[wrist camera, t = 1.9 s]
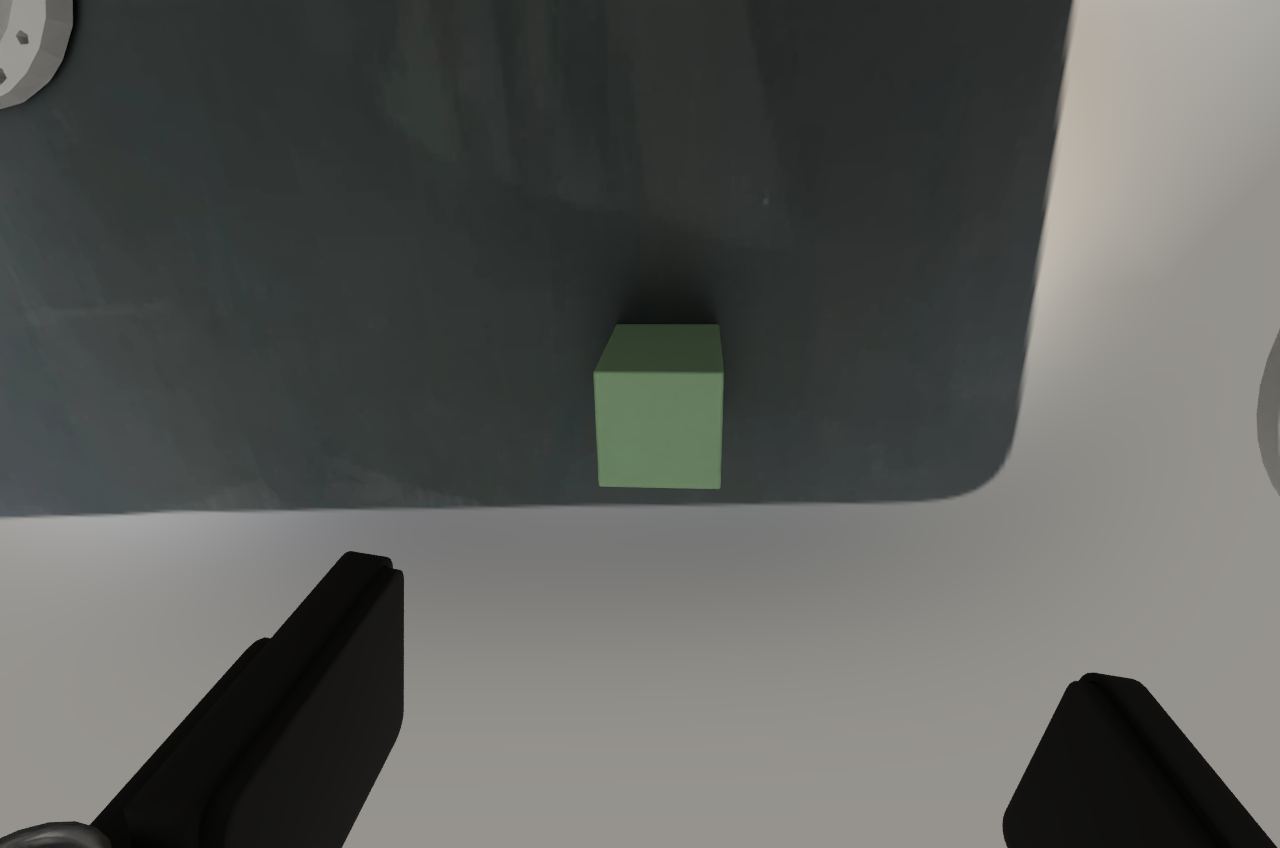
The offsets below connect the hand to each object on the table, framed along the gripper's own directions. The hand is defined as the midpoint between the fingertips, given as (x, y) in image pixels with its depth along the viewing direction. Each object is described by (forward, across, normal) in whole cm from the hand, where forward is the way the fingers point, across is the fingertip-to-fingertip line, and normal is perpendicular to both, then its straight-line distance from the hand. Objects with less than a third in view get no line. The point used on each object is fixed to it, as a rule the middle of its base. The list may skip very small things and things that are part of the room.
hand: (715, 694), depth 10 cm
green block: (+18, +1, +1) cm, 18 cm away
